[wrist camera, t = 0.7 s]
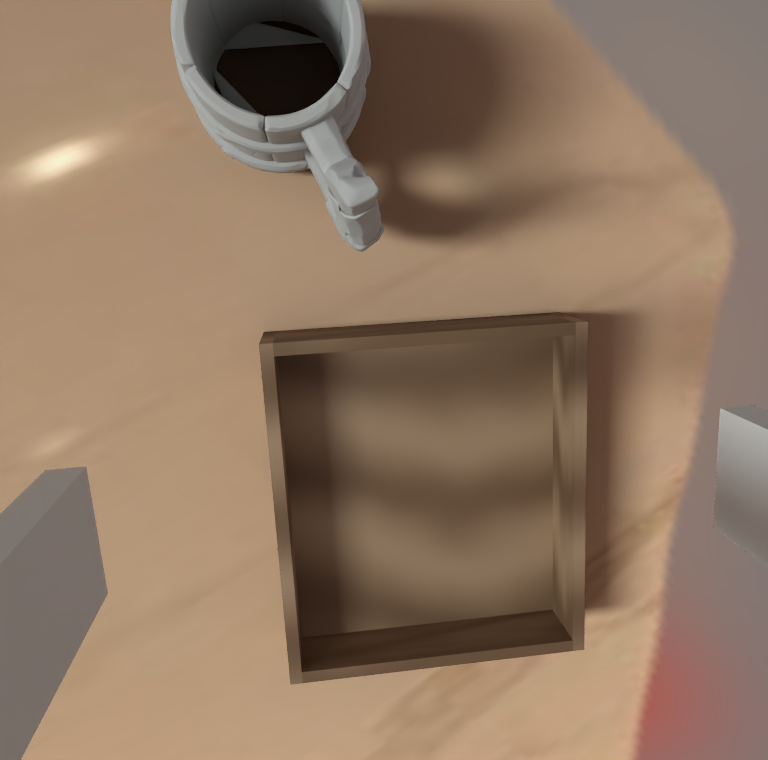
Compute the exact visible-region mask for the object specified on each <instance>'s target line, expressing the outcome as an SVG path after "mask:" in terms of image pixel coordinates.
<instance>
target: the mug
mask: <svg viewBox="0 0 768 760" xmlns="http://www.w3.org/2000/svg"><path fill="white" fill-rule="evenodd" d="M283 20H285V22H288V23H293V24H297V25H300V26H302V27H304V28H306V29H308V30H310V31H311V32H313V33H314V34H315V35H317V36H318V37H319V38H317V37H313V36H309V35H305V34H301V33H297V32H293V31H289V30H285V29H281V28H276V27H272V26H268V25H264V24H260V22H265V21H283ZM171 35H172V41H173V49H174V54H175V57H176V63H177V68H178V72H179V75H180V78H181V81H182V84H183V86H184V89H185V91H186V93H187V95H188V97H189V99H190V100H191V102H192V104H193V105H194V107H195V109H196V111H197V114H198V116H199V118H200V120H201V122H202V124H203V126H204V127H205V129H206V130H207V132H208V133H209V135H210V136H211V137H212V139H213V140H214V141H215V142H216V143H217V144H218V145H219V146H220V147H221V148H222V150H223V151H224V153H225V154H227V155H228V156H229V157H231V158H233V159H236V160H238V161H240V162H241V163H243V164H245V165H248V166H250V167H252V168H255V169H258V170H262V171H268V172H274V173H291V172H298V171H302V170H306V169H311V171H312V173H313V175H314V177H315V179H316V181H317V183H318V185H319V187H320V189H321V191H322V193H323V195H324V197H325V199H326V201H327V202H326V207H327V210H328V212H329V214H330V216H331V219H332V221H333V223H334V225H335V227H336V229H337V231H338V233H339V235H340V236H341V238H342V239H343V240H345V241H346V242H348V244H349V245H350V246H351V247H352V248H354V249H356V250H358V251H361V252H362V251H364V250H366V249H367V248H368V247H370V246H371V245H373V244H374V243H375V242H377V241H378V240H379V238H380V236H381V235H382V233H383V231H384V227H383V224H382V222H381V219H380V218H381V213H380V210H379V204H378V200H377V195H378V192H379V188H378V186H377V185H376V183H375V182H374V181H373V179H372V178H371V177H370V176H368V175H367V173H366V171H365V169H364V167H363V165H362V164H361V163H360V162H359V161H357V160H356V159H355V158H354V157H353V156H352V154H351V152H350V149H349V147H348V145H347V143H346V140H347V139H348V138H349V136H350V135H351V133H352V131H353V130H354V128H355V126H356V124H357V121H358V119H359V116H360V113H361V110H362V104H363V103H364V101H365V98H366V88H365V84H366V80H367V78H368V76H369V74H370V68H371V59H370V51H369V46H368V38H367V33H366V28H365V19H364V12H363V8H362V4H361V0H172V6H171ZM322 42H324V43H325V44H326V45H327V46H328V48H329V49H330V51H331V52H332V54H333V56H334V58H335V60H336V61H337V62H338V67H339V70H340V73H341V75H340V77H339V79H338V82H337V83H336V84H335V85H334V86H333V87H332V88H331V89H330V90H329V91H328V92H327V93H326V94H325V95H324V96H323V97H322V98H321V99H320V100H318V101H317V102H316V103H314V104H312V105H311V106H309V107H307V108H305V109H303V110H300V111H298V112H294V113H291V114H285V115H275V116H263V115H260V114H258V113H257V112H256V111H255V109H254V108H253V107H252V106H251V105H250V104H249V103H248V102H247V101H246V100H245V99H244V98H243V97H242V96H241V95H240V94H239V93H238V92H237V91H236V90H235V89H234V88H233V87H232V86H231V85H230V84H229V83H228V82H227V81H226V80H225V79H224V78H223V77H222V76H221V74H220V73H219V72H218V71H217V70H216V68H217V65H218V62H219V59H220V57H221V56H222V54H223V52H224V50H226V49H240V48H254V47H267V46H281V45H295V44H309V43H322ZM215 80H216V82H217V84H218V86H219V89H220V91H221V93H222V96H223V97H222V96H221V95H220V94H219V93H218V92H217V91H216V90H215Z"/></svg>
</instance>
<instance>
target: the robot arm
mask: <svg viewBox="0 0 768 760" xmlns="http://www.w3.org/2000/svg"><path fill="white" fill-rule="evenodd" d="M713 527H714V528H716V529H717V530H718V531H720V532H721V533H722V534H724V535H725V536H726V537H728V538H729V539H730V540H732V541H733V542H735V543H736V544H737V545H739V546H740V547H741V548H742V549H744V550H745V551H746V552H748V553H749V554H750V555H752V556H753V557H754V558H756V559H757V560H759V561H760V562H761V563H762V564H764V565H765V566H766V567H768V411H767V410H764V409H762V408H760V407H757V406H755V405H749V406H738V407H727V408H720V421H719V438H718V454H717V471H716V487H715V504H714V520H713ZM107 594H108V592H107V586H106V580H105V574H104V568H103V562H102V556H101V551H100V545H99V539H98V533H97V527H96V521H95V516H94V510H93V504H92V498H91V492H90V486H89V480H88V475H87V469H86V467H77V468H66V469H55V470H45V471H44V472H43V473H42V474H41V475H40V476H39V477H38V478H37V479H36V480H35V481H34V482H33V483H32V484H31V485H30V486H29V487H28V488H27V489H26V490H25V491H24V492H23V493H22V494H21V495H20V496H19V497H18V498H16V499H15V500H14V501H13V502H12V503H11V504H10V505H9V506H8V507H7V508H6V509H5V510H4V511H3V512H2V513H1V514H0V760H21V758H22V756H23V754H24V752H25V750H26V748H27V747H28V745H29V743H30V741H31V739H32V737H33V735H34V733H35V731H36V729H37V727H38V726H39V724H40V722H41V720H42V718H43V716H44V714H45V712H46V710H47V708H48V706H49V705H50V703H51V701H52V699H53V697H54V695H55V693H56V691H57V689H58V687H59V685H60V684H61V682H62V680H63V678H64V676H65V674H66V672H67V670H68V668H69V666H70V664H71V663H72V661H73V659H74V657H75V655H76V653H77V651H78V649H79V647H80V645H81V643H82V641H83V640H84V638H85V636H86V634H87V632H88V630H89V628H90V626H91V624H92V622H93V620H94V619H95V617H96V615H97V613H98V611H99V609H100V607H101V605H102V603H103V601H104V599H105V598H106V596H107Z"/></svg>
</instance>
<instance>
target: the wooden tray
mask: <svg viewBox="0 0 768 760" xmlns="http://www.w3.org/2000/svg"><path fill="white" fill-rule="evenodd" d="M259 349H260V359H261V370H262V381H263V392H264V403H265V413H266V424H267V435H268V446H269V457H270V467H271V478H272V489H273V500H274V511H275V521H276V532H277V543H278V554H279V565H280V575H281V586H282V597H283V608H284V619H285V630H286V640H287V651H288V662H289V673H290V684H299V683H307V682H315V681H324V680H332V679H341V678H349V677H357V676H366V675H374V674H383V673H391V672H399V671H408V670H416V669H425V668H433V667H442V666H450V665H458V664H467V663H475V662H484V661H492V660H500V659H509V658H517V657H526V656H534V655H542V654H551V653H559V652H568V651H576V650H584V616H585V536H586V457H587V377H588V321H585V320H582V319H579V318H575V317H572V316H569V315H566V314H562V313H559V312H556V313H541V314H527V315H512V316H497V317H482V318H467V319H452V320H437V321H423V322H408V323H393V324H378V325H363V326H348V327H333V328H318V329H304V330H289V331H274V332H264V333H263V336H262V338H261V341H260V343H259Z"/></svg>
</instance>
